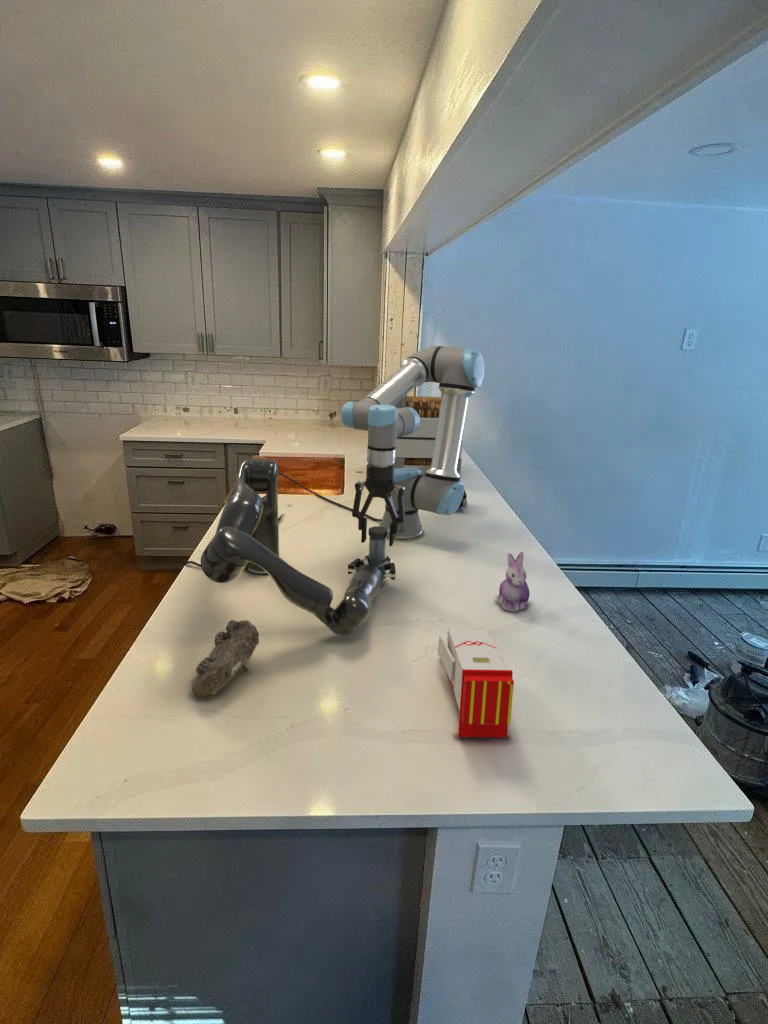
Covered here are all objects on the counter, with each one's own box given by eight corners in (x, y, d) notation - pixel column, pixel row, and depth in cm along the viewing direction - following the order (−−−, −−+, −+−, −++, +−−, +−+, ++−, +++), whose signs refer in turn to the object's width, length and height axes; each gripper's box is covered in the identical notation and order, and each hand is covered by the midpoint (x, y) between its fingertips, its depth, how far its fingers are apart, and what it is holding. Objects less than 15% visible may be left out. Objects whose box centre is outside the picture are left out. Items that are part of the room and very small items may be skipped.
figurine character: (467, 516, 223) (461, 500, 237) (469, 499, 220) (463, 483, 233) (450, 516, 223) (446, 499, 236) (452, 498, 220) (447, 483, 233)
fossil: (211, 622, 131) (258, 592, 126) (240, 650, 134) (286, 622, 129) (171, 690, 112) (224, 658, 107) (205, 721, 115) (258, 691, 110)
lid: (385, 531, 162) (385, 526, 161) (388, 538, 157) (389, 533, 156) (367, 531, 161) (367, 526, 160) (369, 538, 156) (370, 533, 155)
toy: (488, 613, 130) (523, 677, 101) (484, 667, 133) (517, 744, 104) (435, 612, 130) (455, 676, 101) (432, 666, 133) (451, 743, 103)
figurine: (511, 616, 149) (518, 564, 143) (487, 598, 157) (493, 549, 152) (539, 609, 153) (547, 558, 148) (514, 592, 161) (521, 544, 156)
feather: (290, 508, 223) (292, 504, 223) (272, 532, 197) (275, 527, 196) (286, 505, 223) (289, 501, 223) (268, 529, 197) (271, 525, 196)
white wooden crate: (382, 463, 289) (386, 382, 275) (445, 464, 293) (451, 384, 279) (390, 482, 257) (394, 392, 243) (460, 483, 261) (468, 394, 247)
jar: (377, 577, 167) (380, 528, 162) (387, 584, 163) (389, 533, 158) (364, 581, 164) (366, 531, 159) (373, 587, 161) (375, 536, 155)
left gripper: (338, 593, 151) (354, 566, 167) (391, 600, 148) (402, 572, 164) (338, 567, 148) (355, 543, 164) (392, 574, 146) (403, 549, 162)
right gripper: (420, 464, 153) (415, 542, 161) (348, 456, 157) (346, 533, 165) (415, 471, 146) (410, 552, 154) (340, 463, 150) (339, 542, 158)
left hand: (378, 558), depth 164 cm, fingers closed on jar, 4 cm apart
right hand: (377, 542), depth 159 cm, fingers open, 7 cm apart
